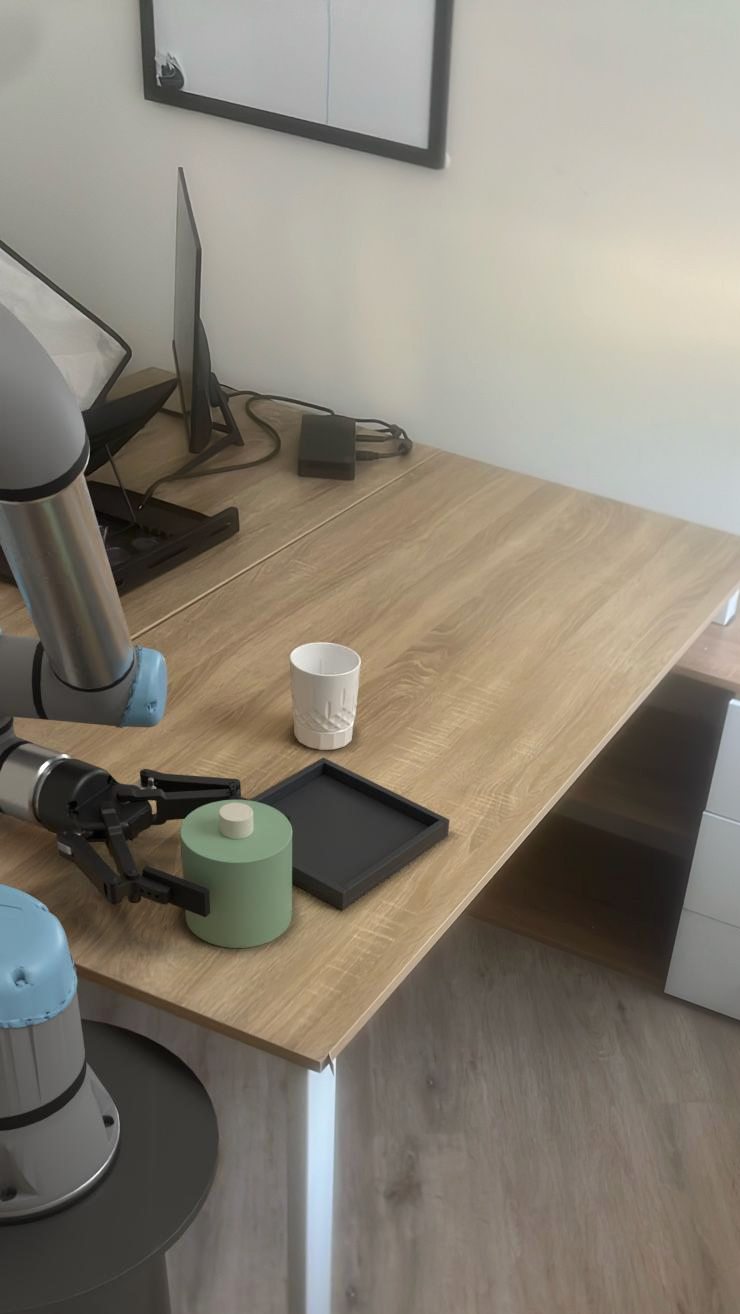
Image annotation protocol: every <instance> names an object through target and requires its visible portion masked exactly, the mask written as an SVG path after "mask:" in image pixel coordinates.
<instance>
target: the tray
mask: <svg viewBox="0 0 740 1314" xmlns="http://www.w3.org/2000/svg"><path fill="white" fill-rule="evenodd" d="M249 800H252V801H254V802H259V803H263V804H265V805H268V806H270V807H273V808H275V809H276V810H278V811H280V812H281V813H282V814H284V815H287V816H290V824H291V827H292V885H295V886H297V887H299V888H301V889H303V891H306V892H308V893H310V894H312V895H314V896H316V897H317V898H319V899H320V900H323V901H325V902H327V903H328V904H330V905H332V906H334V907H335V908H338V909H339V910H341V911H343V910H345V909H347V907H349V906H350V905H352V904H353V903H354V902H357V900H359V899H361V897H363V896H365V895H366V894H367V893H369V892H370V891H372V890H373V889H374V888H376V887H378V885H380V884H382V883H383V882H384V881H386V880H387V879H389V878H390V877H392V876H393V875H394V874H396V873H397V872H398V871H400V870H402V869H403V868H404V867H406V866H407V865H408V864H410V863H411V862H412V861H415V860H416V859H417V858H418V857H420V856H422V854H424V853H425V852H427V851H428V850H430V849H431V848H433V847H434V846H436V845H437V844H438V843H439V842H441V841H442V840H443V839H445V838H447V837H448V836H449V829H450V819H449V818H447V817H445V816H443V815H441V814H439V813H437V812H435V811H433V810H431V809H428V808H427V807H425V806H423V805H420V804H419V803H417V802H414V801H412V800H410V799H408V798H407V797H404V796H403V795H400V794H398V793H396V792H395V791H392V790H390V789H388V788H387V787H385V786H383V785H380V784H378V783H376V782H375V781H372V780H370V779H368V778H366V777H364V776H362V775H360V774H358V773H356V772H354V771H352V770H350V769H348V768H346V767H344V766H342V765H340V764H338V763H336V762H333V761H331V760H330V759H327V758H326V757H321V758H320V759H318V760H316V761H314V762H313V763H311V764H309V765H308V766H305V767H304V768H302V769H301V770H299V771H297V772H295V773H293V774H292V775H290V776H287V777H286V778H285V779H283V780H281V781H279V782H277V783H275V784H273V785H272V786H270V787H268V788H267V789H265V790H263V791H262V792H260V793H258V794H257V795H255V796H252V797H251V798H249Z"/></svg>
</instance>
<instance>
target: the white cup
mask: <svg viewBox="0 0 740 1314" xmlns="http://www.w3.org/2000/svg"><path fill="white" fill-rule="evenodd" d="M361 662H362V659H361V657H360V655H359V654H358V653H357V652H356V651H355V650H353V649H351V648H349V647H348V646H345V645H341V644H339V643H333V642H324V641H323V642H319V641H318V642H310V643H304V644H301V645H299V646H296V648H294V649H293V650H292V651H291V652H290V655H289V668H290V669H289V670H290V692H291V695H290V696H291V704H292V706H291V707H292V715H293V729H294V731H293V733H294V736H295V738H296V740H297V741H298V742H299V743H300V744H302V745H304V746H305V747H307V748H310V749H314V750H320V751H334V750H337V749H342V748H344V747H346V746H347V745H348V744H350V743H351V742H352V739H353V735H354V724H355V723H354V722H355V719H356V716H357V715H356V714H357V706H358V696H359V686H360V684H359V683H360V673H361V665H362V663H361Z"/></svg>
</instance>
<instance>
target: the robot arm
mask: <svg viewBox="0 0 740 1314" xmlns="http://www.w3.org/2000/svg"><path fill="white" fill-rule="evenodd" d="M84 421H85V420H84V417H83V414H82V411H81V408H80V406H79V404H78V401H77V398H76V396H75V395H74V393H73V391H72V389H71V386H69V383H68V382H67V380H66V378H65V377H64V374H63V372H62V371H61V369H60V368H59V366H58V365H57V364H56V362H55V361H54V360H53V358H52V357H51V355H50V354H49V353H48V351H47V350H46V349H45V347H44V345H42V343H41V342H40V341H39V340H38V338H37V337H35V335H34V334H33V332H32V331H31V330H30V329H29V328H28V327H27V326H26V325H25V324H24V322H22V321H21V320H20V319H19V318H18V317H17V316H16V315H15V314H14V313H13V312H12V311H11V310H10V309H9V308H7V306H6V305H4V304H3V303H2V302H0V546H1V548H2V551H3V553H4V556H5V558H6V561H7V563H8V565H9V568H10V570H11V573H12V575H13V578H14V580H15V582H16V585H17V586H18V591H19V592H20V594H21V596H22V599H23V601H24V604H25V607H26V609H27V611H28V614H29V617H30V619H31V621H32V623H33V626H34V628H35V631H36V633H37V635H38V637H35V636H34V637H32V636H23V635H12V634H3V632H2V631H3V630H2V627H1V626H0V813H2V814H4V815H6V816H10V817H12V818H15V819H18V820H20V821H22V822H25V823H28V824H29V825H33V826H36V827H37V828H41V829H45V830H46V831H48V832H50V833H52V834H54V835H55V836H56V837H55V838H56V844H57V852H58V855H59V857H60V858H62V859H65V860H67V861H68V862H70V863H72V864H74V865H75V866H76V867H77V868H78V870H79V871H80V872H81V873H82V874H83V875H84V876H85V877H86V878H87V880H88V881H89V882H90V883H91V884H92V886H94V888H95V889H96V890H97V891H98V892H99V894H100V895H102V897H103V898H104V899H105V900H106V902H107V903H109V904H110V905H112V906H117V905H120V904H122V903H123V899H124V898H125V897H127V902H128V903H130V904H139V903H141V901H142V898H144V899H147V900H150V901H152V902H155V903H157V904H159V905H166V906H167V905H169V904H170V905H171V906H176V907H178V908H180V909H182V910H184V911H185V910H188V911H190V912H193V913H195V914H198V915H200V916H203V917H207V916H208V915H209V914H210V897H209V889H207V888H205V887H202V886H199V885H197V884H194V883H191V882H189V881H186V880H184V879H183V878H181V877H178V876H176V875H174V874H171V873H168V872H165V871H162V870H161V869H157V868H155V867H152V866H149V865H146V866H145V867H144V868H142V869H141V873H140V869H139V868H138V865H137V863H136V861H135V858H134V856H133V853H132V851H131V849H130V847H129V845H128V842H127V841H130V842H132V841H134V840H135V839H136V838H138V836H139V835H140V833H142V832H143V831H146V830H148V829H149V828H151V827H152V826H161V825H164V824H166V822H168V821H174V820H184V819H185V818H186V817H187V815H189V814H190V813H191V812H192V811H194V810H195V809H197V808H199V807H201V806H204V805H206V804H209V803H213V802H217V801H223V800H248V801H252V800H250V798H249V799H248V798H246V797H243V796H242V785H241V780H240V779H238V778H230V777H228V778H227V777H215V776H214V777H213V776H204V775H203V776H202V775H190V774H189V775H188V774H177V773H176V774H175V773H164V772H161V771H157V770H153V769H149V768H144V769H140V771H139V780H138V781H137V782H136V783H135V784H126V783H121V782H119V781H117V780H116V779H115V777H113V776H112V774H111V773H110V772H108V771H107V770H106V769H105V768H102V767H100V766H97V765H94V764H92V763H89V762H86V761H84V760H81V759H78V758H73V757H72V756H70V755H68V754H66V753H63V752H60V751H58V750H54V749H52V748H48V747H46V746H43V745H40V744H37V743H34V742H31V741H29V740H27V739H24V738H22V737H19V736H17V735H16V733H15V727H14V721H15V720H14V718H19V719H20V718H23V719H33V720H43V721H44V720H45V721H56V722H57V721H58V722H67V723H68V722H69V723H77V724H86V725H87V724H89V725H98V726H109V727H116V728H119V729H122V728H153V727H156V726H157V725H159V724H160V722H161V721H162V720H163V717H164V714H165V711H166V705H167V697H168V669H167V664H166V659H165V657H164V655H163V654H162V653H161V652H160V651H158V650H156V649H154V648H148V647H144V646H142V645H140V644H139V645H138V644H135V645H134V643H133V641H132V637H131V633H130V630H129V627H128V624H127V620H126V616H125V613H124V610H123V606H122V602H121V599H120V595H119V592H118V589H117V585H116V582H115V578H114V575H113V571H112V568H111V565H110V561H109V557H108V555H107V551H106V547H105V543H104V540H103V537H102V533H101V531H100V525H99V522H98V519H97V516H96V512H95V509H94V505H93V501H92V498H91V495H90V491H89V487H88V485H87V481H86V478H85V471H86V469H87V467H88V464H89V460H90V454H91V453H90V452H91V446H90V440H89V436H88V432H87V429H86V425H85V422H84ZM150 801H153V802H154V801H155V809H156V812H154V813H153V806H152V805H151V803H150ZM283 815H284V814H283ZM284 816H285V817H286V818H287V819H288V820H289V822H290V816H287V815H284ZM92 843H104V845H105V847H106V849H107V851H108V853H109V856H110V858H112V860H113V863H114V865H115V868H116V870H117V873H118V874H117V873H116V872H115V871H114V870H113V868H112V867H111V866H110V865H109V864H108V862H106V860H104V858H102V856H101V855H100V854H99V853H98V852H97V851H96V850H95V848H94V847H93V846H92V845H91V844H92ZM78 983H79V982H78V976H77V967H76V966H75V960H74V958H73V956H72V954H71V952H70V947H69V942H68V937H67V934H66V932H65V929H64V927H63V925H62V923H61V921H60V920H59V919H58V917H57V916H56V915H54V914H53V913H51V911H50V909H49V908H48V907H47V905H46V904H44V903H43V902H41V901H40V900H39V899H37V898H36V897H34V896H32V895H30V894H29V893H27V892H25V891H22V890H20V889H18V888H15V887H12V886H9V885H6V884H1V883H0V1226H11V1225H19V1224H25V1223H31V1222H35V1221H38V1220H42V1219H45V1218H48V1217H51V1216H54V1215H56V1214H58V1213H61V1212H63V1211H65V1210H67V1209H69V1208H71V1207H73V1206H74V1205H76V1204H78V1203H79V1202H81V1201H82V1200H84V1199H85V1198H86V1197H88V1196H89V1195H90V1194H91V1193H92V1192H94V1191H95V1190H96V1189H97V1188H98V1187H99V1186H100V1185H101V1184H102V1183H103V1181H104V1180H105V1179H106V1178H107V1177H108V1175H109V1174H110V1172H111V1171H112V1169H113V1167H114V1165H115V1163H116V1161H117V1158H118V1155H119V1151H120V1146H121V1131H120V1123H119V1116H118V1112H117V1109H116V1107H115V1105H114V1103H113V1101H112V1099H111V1097H110V1095H109V1094H108V1092H107V1091H106V1089H105V1088H104V1086H103V1085H102V1083H101V1082H100V1081H99V1079H98V1078H97V1076H96V1075H95V1073H94V1072H93V1070H92V1069H91V1068H90V1066H89V1065H88V1063H87V1062H86V1055H85V1048H84V1041H83V1033H82V1026H81V1019H82V1018H81V1012H80V1005H79V996H78V991H77V989H78Z"/></svg>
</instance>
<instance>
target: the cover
mask: <svg viewBox="0 0 740 1314" xmlns="http://www.w3.org/2000/svg"><path fill="white" fill-rule="evenodd" d="M179 836H180V838H179V839H180V851H181V852H180V853H181V868H182V870H181V871H182V879H184V880H186V881H189V882H191V883H194V884H197V885H199V886H202V887H205V888H207V889H209V897H210V914H209V915H208V916H207V917H203V916H200V915H198V914H195V913H193V912H190V911H188V910H185V909H184V914H185V922H186V925H187V927H188V928H189V930H190V931H191V932H192V934H194V935H195V936H196V937H198V938H199V939H201V940H202V941H204V942H206V943H209V944H211V945H214V946H218V947H223V948H228V949H247V948H254V947H258V946H262V945H265V944H268V943H270V942H273V941H274V940H275V939H277V938H279V937H280V936H282V934H284V933H285V932H286V930H287V929H288V928H289V926H290V924H291V922H292V918H293V883H292V827H291V824H290V822H289V820H288V819H287V818H286V817H285V816H284V815H283V814H282V813H281V812H280V811H278V810H276V809H275V808H273V807H270V806H268V805H265V804H263V803H259V802H254V801H248V800H223V801H217V802H213V803H209V804H206V805H204V806H201V807H199V808H197V809H195V810H194V811H192V812H191V813H190V814H189V815H187V817H186V818H185V819H183V821H182V822H181V824H180V828H179Z"/></svg>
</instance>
